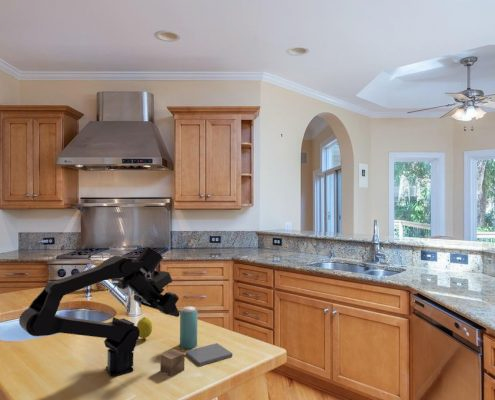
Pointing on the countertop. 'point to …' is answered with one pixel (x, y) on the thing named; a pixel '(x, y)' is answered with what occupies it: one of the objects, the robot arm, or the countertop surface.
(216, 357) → the slate coaster
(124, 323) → the robot arm
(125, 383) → the countertop surface
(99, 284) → the candy box
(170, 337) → the countertop surface
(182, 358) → the walnut block
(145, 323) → the lemon
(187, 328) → the spice jar
